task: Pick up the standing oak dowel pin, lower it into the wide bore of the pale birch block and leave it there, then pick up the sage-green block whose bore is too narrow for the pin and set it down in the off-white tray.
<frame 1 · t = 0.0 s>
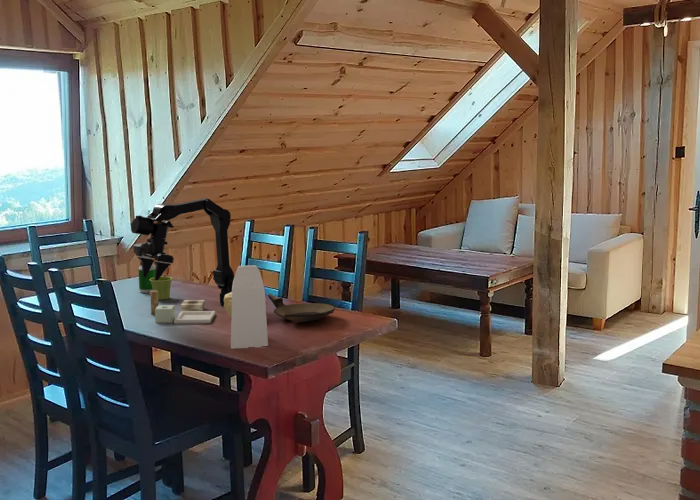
hand: (150, 278, 259), 15 cm above the table, tool pointing down, fingers open, 9 cm apart
plant pot: (161, 299, 295), on the table
dowel pin: (154, 313, 268), on the table
narrow bore block: (165, 320, 259), on the table
oil lamp: (301, 319, 262), on the table
soda can: (148, 292, 308), on the table
sculpture: (241, 318, 263), on the table
tray: (195, 319, 260), on the table
wide bore block: (193, 311, 273), on the table
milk: (249, 343, 230), on the table
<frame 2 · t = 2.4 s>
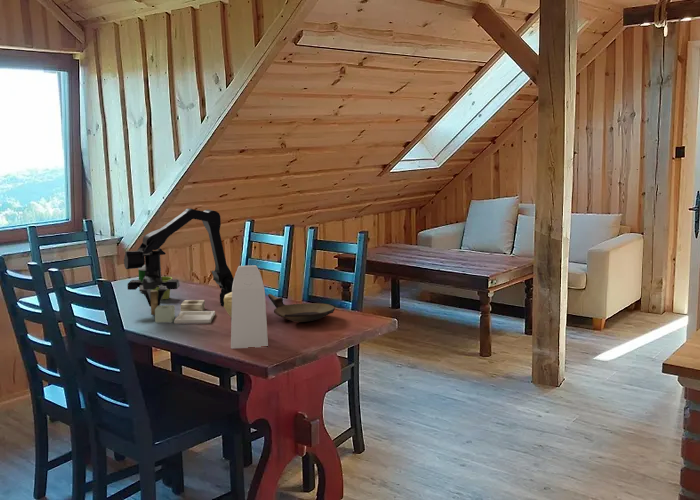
hand: (154, 306, 268), 3 cm above the table, tool pointing down, fingers closed on dowel pin, 3 cm apart
dowel pin: (154, 313, 268), on the table, touching gripper
everything else where it was.
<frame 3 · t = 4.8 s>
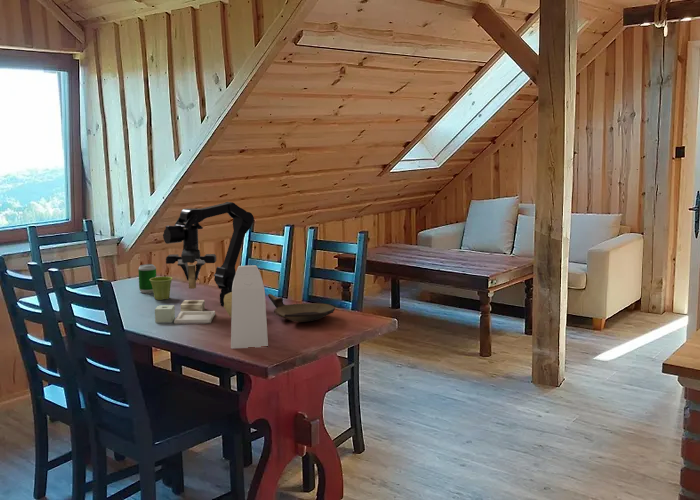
hand: (192, 280, 271), 12 cm above the table, tool pointing down, fingers closed on dowel pin, 3 cm apart
dowel pin: (192, 287, 272), point 9 cm above the table, touching gripper
everything else where it was.
when the fingers open (4 cm above the table, at t = 6.7 s): dowel pin drops 2 cm, resting in wide bore block.
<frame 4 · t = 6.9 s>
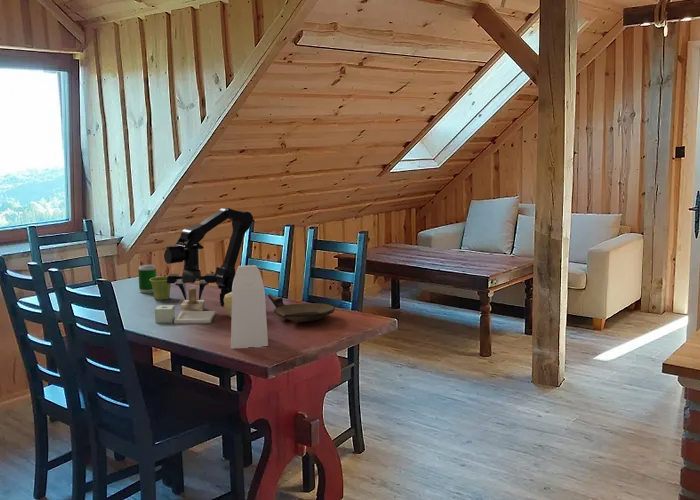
hand: (192, 299, 272), 4 cm above the table, tool pointing down, fingers open, 5 cm apart
dowel pin: (193, 311, 273), resting in wide bore block
everything else where it was.
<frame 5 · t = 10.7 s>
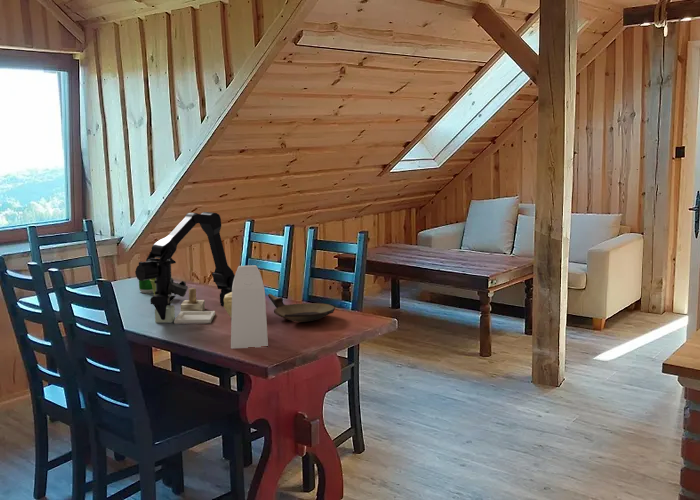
hand: (165, 317, 259), 1 cm above the table, tool pointing down, fingers closed on narrow bore block, 6 cm apart
narrow bore block: (165, 320, 259), on the table, touching gripper
everything else where it was.
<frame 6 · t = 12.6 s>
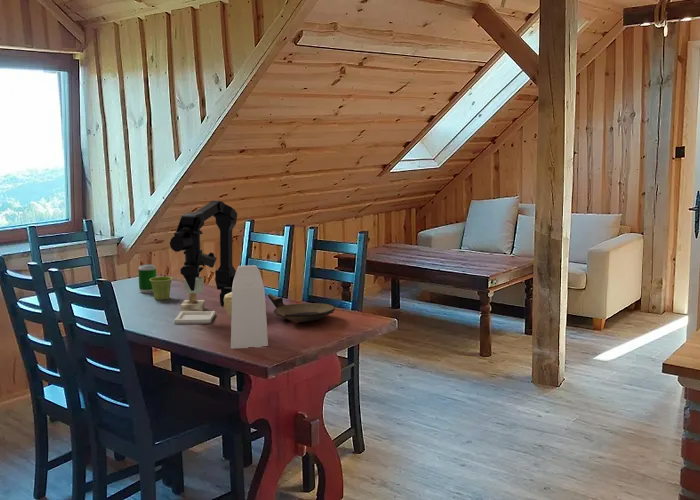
hand: (194, 288, 259), 12 cm above the table, tool pointing down, fingers closed on narrow bore block, 6 cm apart
narrow bore block: (194, 291, 259), point 11 cm above the table, touching gripper
everything else where it was.
when the fingers open (3 cm above the table, at t = 14.5 s): narrow bore block drops 2 cm, resting on tray.
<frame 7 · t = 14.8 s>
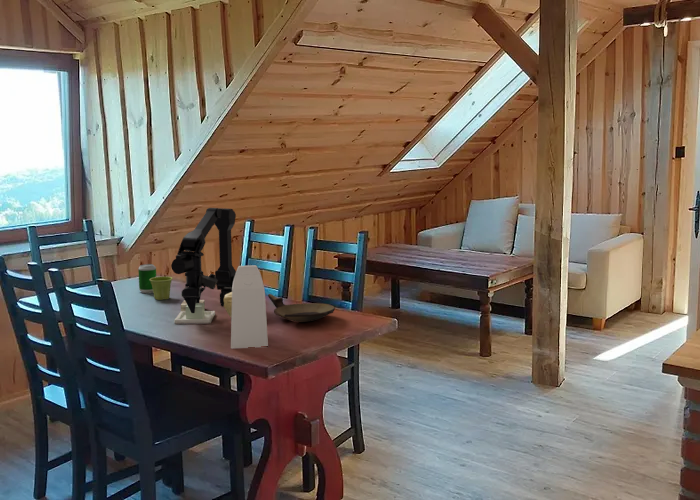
hand: (195, 310, 260), 3 cm above the table, tool pointing down, fingers open, 9 cm apart
narrow bore block: (195, 317, 260), resting on tray
everything else where it was.
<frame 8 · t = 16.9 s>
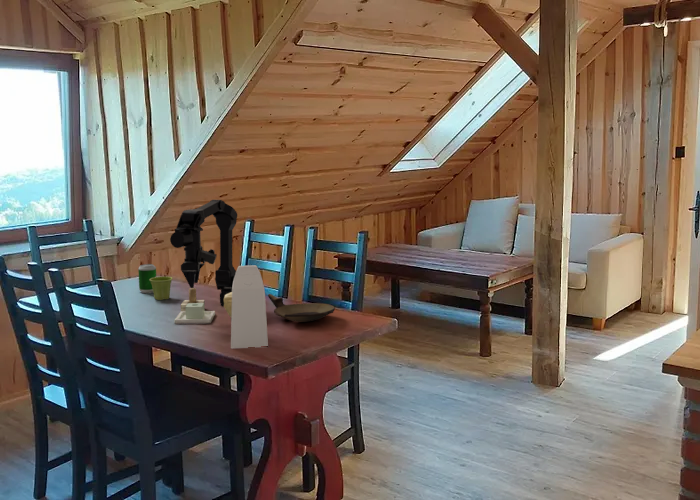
hand: (194, 285, 258), 13 cm above the table, tool pointing down, fingers open, 9 cm apart
nothing on the table moved.
at the end: narrow bore block inside the target area on the tray (0.0 cm from its centre), point 0.5 cm above the tray's base; dowel pin 0.0 cm from the wide bore block (horizontally); dowel pin resting in wide bore block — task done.
